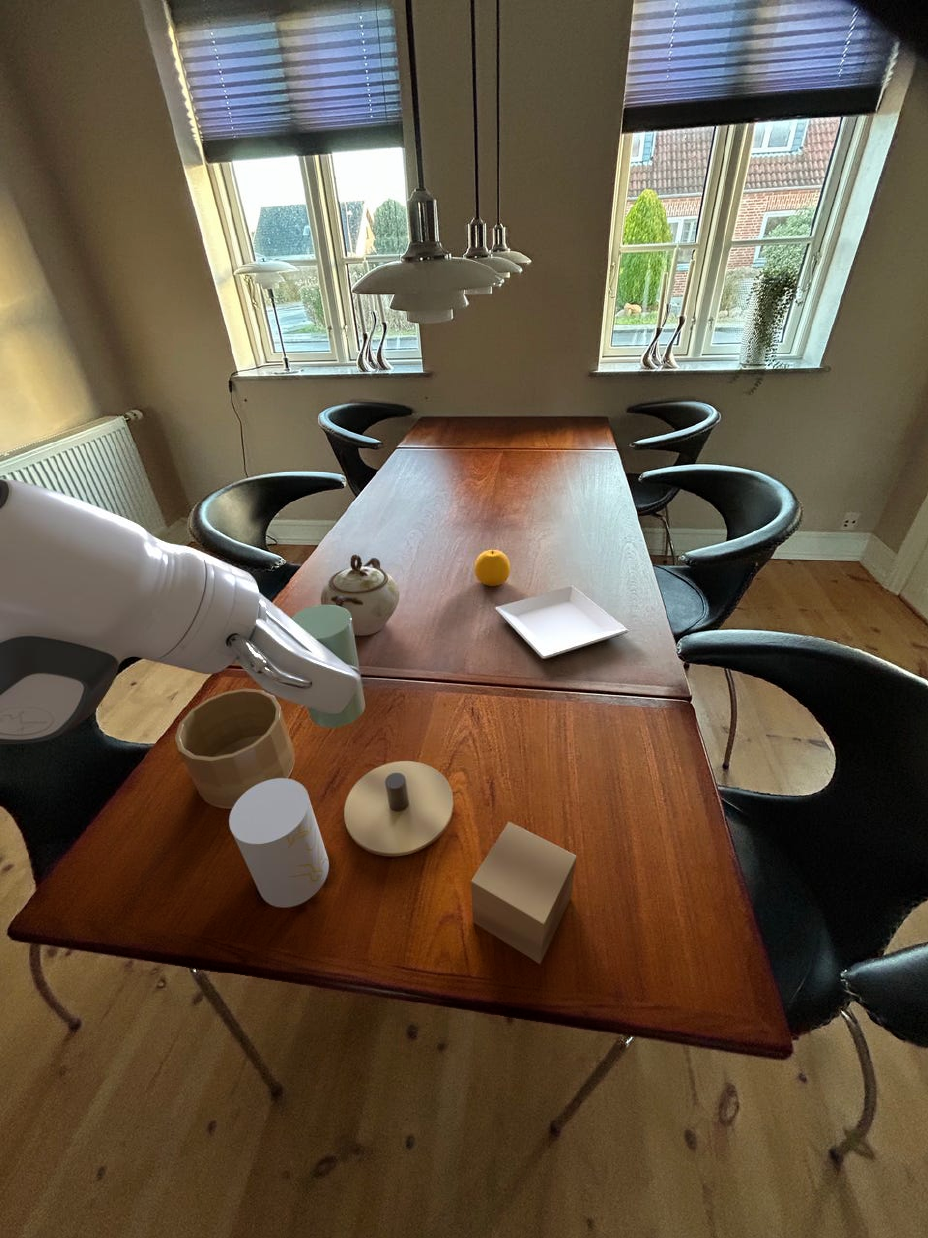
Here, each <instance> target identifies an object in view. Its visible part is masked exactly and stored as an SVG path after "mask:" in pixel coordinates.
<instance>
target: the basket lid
mask: <svg viewBox="0 0 928 1238" xmlns="http://www.w3.org/2000/svg"><path fill="white" fill-rule="evenodd" d="M453 813H454V795H453V791H452V787H451V786H450V783H449V781H448V780H447V779H446V777H445V776H444V775H443V774H442V773H441V772H439V771H438V770H437V769H435V768H434V767H432V766H430V765H428V764H425V763H422V762H417V761H411V760H404V761H403V760H399V761H391V762H389V763H384V764H382V765H379V766H378V767H376V768H373V769H372V770H370V771H368V772H367V773H366V774H363V776H362V777H361V778H360V779H359V780H357V782H356V783H354V785H353V786H352V788H351V789H350V791H349V793H348V794H347V797H346V799H345V803H344V808H343V819H344V825H345V827H346V830H347V832H348V834H349V836H350V837H351V839H352V840H353V841H354V842H355V843H356V845H358V846H359V847H360V848H362V849H364V850H365V851H367V852H368V853H372V854H375V855H377V856H383V857H401V856H408V855H411V854H414V853H417V852H419V851H421V850H423V849H425V848H427V847H428V846H430V845H432V844H433V843H434V842H436V840H438V838H439V837H440V836H442V834H443V833H444V832H445V830H446V829H447V827H448V826H449V823H450V822H451V819H452V817H453Z"/></svg>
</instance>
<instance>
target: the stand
mask: <svg viewBox="0 0 928 1238" xmlns="http://www.w3.org/2000/svg"><path fill="white" fill-rule="evenodd" d="M577 859H578V856H577V855H575V854H574V853H572V852H569V851H568V850H566V849H564V848H562V847H560V846H558V845H556V844H554V843H552V842H551V841H548V840H546V839H544V838H542V837H540V836H538V835H536V834H534V833H532V832H530V831H529V830H526V829H524V828H523V827H521V826H519V825H516V824H515V823H512V822H511V821H508V822H507V824H506V825H505V827H504V828H503V829H502V832H501V833H500V835H499V837H498V838H497V840H495V842H494V844H493V846H492V847H491V849H490V851H489V852H488V854H487V855H486V857H485V859H484V860H483V862H482V863H481V865H480V866H479V868H478V869H477V871H476V872H475V874H474V875H473V878H472V880H470V887H471V888H470V889H471V908H472V923H473V924H475V925H477V926H478V927H480V928H481V929H483V930H485V931H487V932H488V933H489V934H491V935H493V936H494V937H495V938H497V939H499V940H500V941H502V942H504V943H505V944H507V945H509V946H510V947H511V948H513V949H515V950H517V951H518V952H519V953H522V954H523V955H524V956H526V957H528V958H530V959H531V960H533V961H534V962H535V963H537V964H539V965H541V963H542V961H543V959H544V957H545V955H546V953H547V950H548V948H549V946H550V944H551V942H552V939H553V937H554V935H555V934H556V931H557V929H558V927H559V924H560V922H561V920H562V918H563V916H564V914H565V911H566V910H567V907H568V905H569V903H570V901H571V898H572V894H573V893H572V892H573V886H574V881H575V880H574V879H575V874H576V873H575V872H576V867H577Z"/></svg>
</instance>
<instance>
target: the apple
mask: <svg viewBox="0 0 928 1238" xmlns="http://www.w3.org/2000/svg"><path fill="white" fill-rule="evenodd" d="M473 571H474V574H475V575H474V576H475V577H476V579H477V580H478V581H479V582H480V583H481V584H483V585H485V586H489V587H495V586H496V587H497V586H500V585H502V584H503V583H505V582H506V581H507V580H508V578H509V577H510V574H511V562H510V560H509V558H508V556H507V555H506V554H505V553H503V552H502V551H500V550H497V549H488V550H485V551H483V552H482V553H480V554H479V556H478V557H477V558H476V559H475V562H474V570H473Z"/></svg>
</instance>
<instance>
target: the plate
mask: <svg viewBox="0 0 928 1238" xmlns="http://www.w3.org/2000/svg"><path fill="white" fill-rule="evenodd" d="M494 609H495V610H496V611H497V612H498V614H499V615H500V616H501V617H502V618H503V619H504V620H505V621H506V622H507V623H508V624H509V625H510V626H511V627H512V628H513V629H514V631H516V633H517V634H518V635H519V636H520V637H521V638H522V639H523V640H524V641H525V642H526V643H527V644H528V645H529V646H530V647H531V648H532V649H533V651H534V652H535V653H536V654H537V655H538V656H539V657H540V658H541V659H542V660H547V659H550V658H553V657H557V656H560V655H563V654H565V653H569V652H572V651H575V650H579V649H581V648H585V647H588V646H590V645H591V646H592V645H593V644H594V645H595V644H597V643H600V642H603V641H606V640H609V639H612V638H616V637H619V636H622V635H626V634H628V633H629V632H630V630H629V629H628V628H627V627H625V626H624V625H623V624H622V623H621V622H619V621H618V620H617V619H616V618H614V617H613V616H612V615H611V614H610V613H608V612H607V611H605V610H604V609H603V608H602V607H600V606H599V605H598V604H597V603H595V602H594V601H593V600H592V599H590V598H589V597H588V596H587V595H585V594H584V593H583V592H581V591H580V589H578V588H576V587H575V586H574V585H571V586H567V587H564V588H560V589H556V590H553V591H549V592H546V593H542V594H538V595H534V596H532V597H527V598H523V599H521V600H517V601H513V602H510V603H505V604H502V605H499V606H495V607H494Z"/></svg>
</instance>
